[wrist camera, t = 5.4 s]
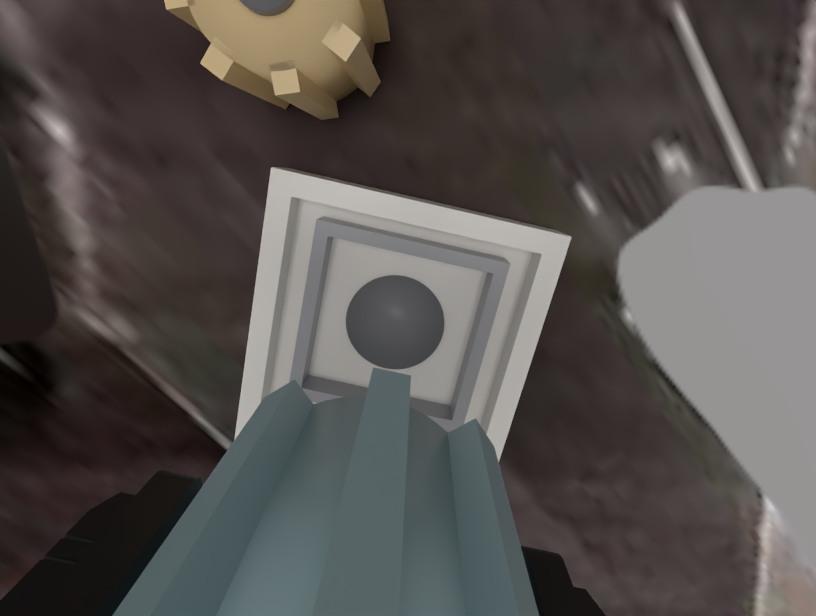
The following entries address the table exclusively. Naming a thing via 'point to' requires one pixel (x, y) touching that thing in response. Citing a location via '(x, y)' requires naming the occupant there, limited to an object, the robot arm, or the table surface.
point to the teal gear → (344, 518)
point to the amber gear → (291, 47)
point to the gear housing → (396, 300)
